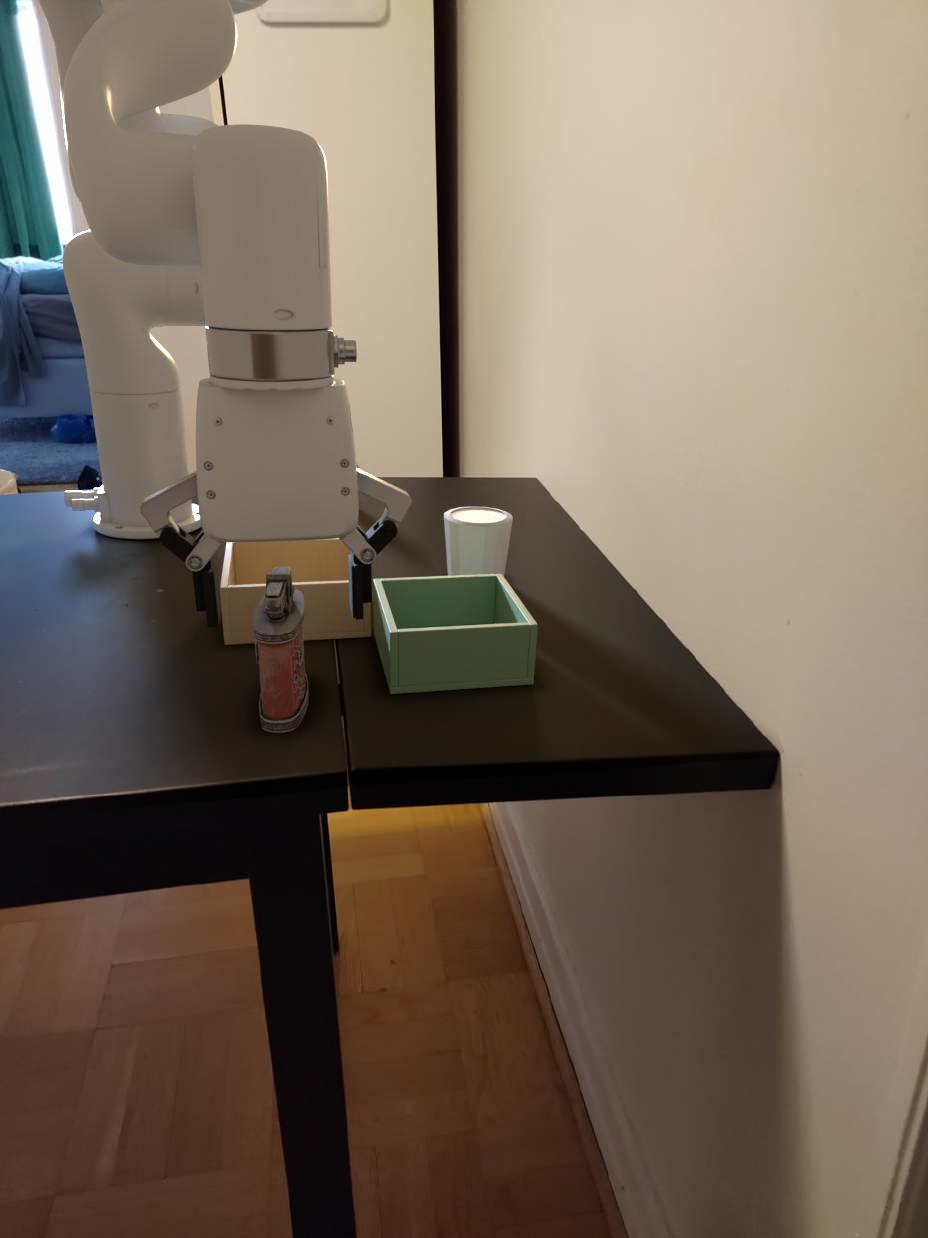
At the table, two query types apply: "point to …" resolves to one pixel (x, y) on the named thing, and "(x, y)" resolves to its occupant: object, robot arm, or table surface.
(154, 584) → the table surface
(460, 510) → the white round tub
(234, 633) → the beige bin
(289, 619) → the lighter
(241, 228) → the robot arm
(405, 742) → the table surface
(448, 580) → the green bin
